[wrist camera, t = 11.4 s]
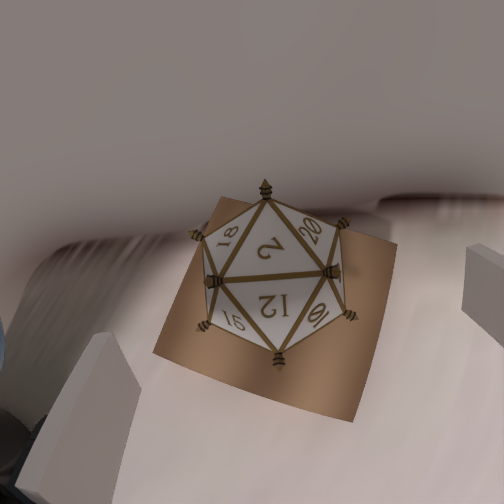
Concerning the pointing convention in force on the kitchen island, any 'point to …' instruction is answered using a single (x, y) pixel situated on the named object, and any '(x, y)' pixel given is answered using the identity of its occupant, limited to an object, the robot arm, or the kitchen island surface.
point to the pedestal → (303, 354)
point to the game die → (273, 275)
